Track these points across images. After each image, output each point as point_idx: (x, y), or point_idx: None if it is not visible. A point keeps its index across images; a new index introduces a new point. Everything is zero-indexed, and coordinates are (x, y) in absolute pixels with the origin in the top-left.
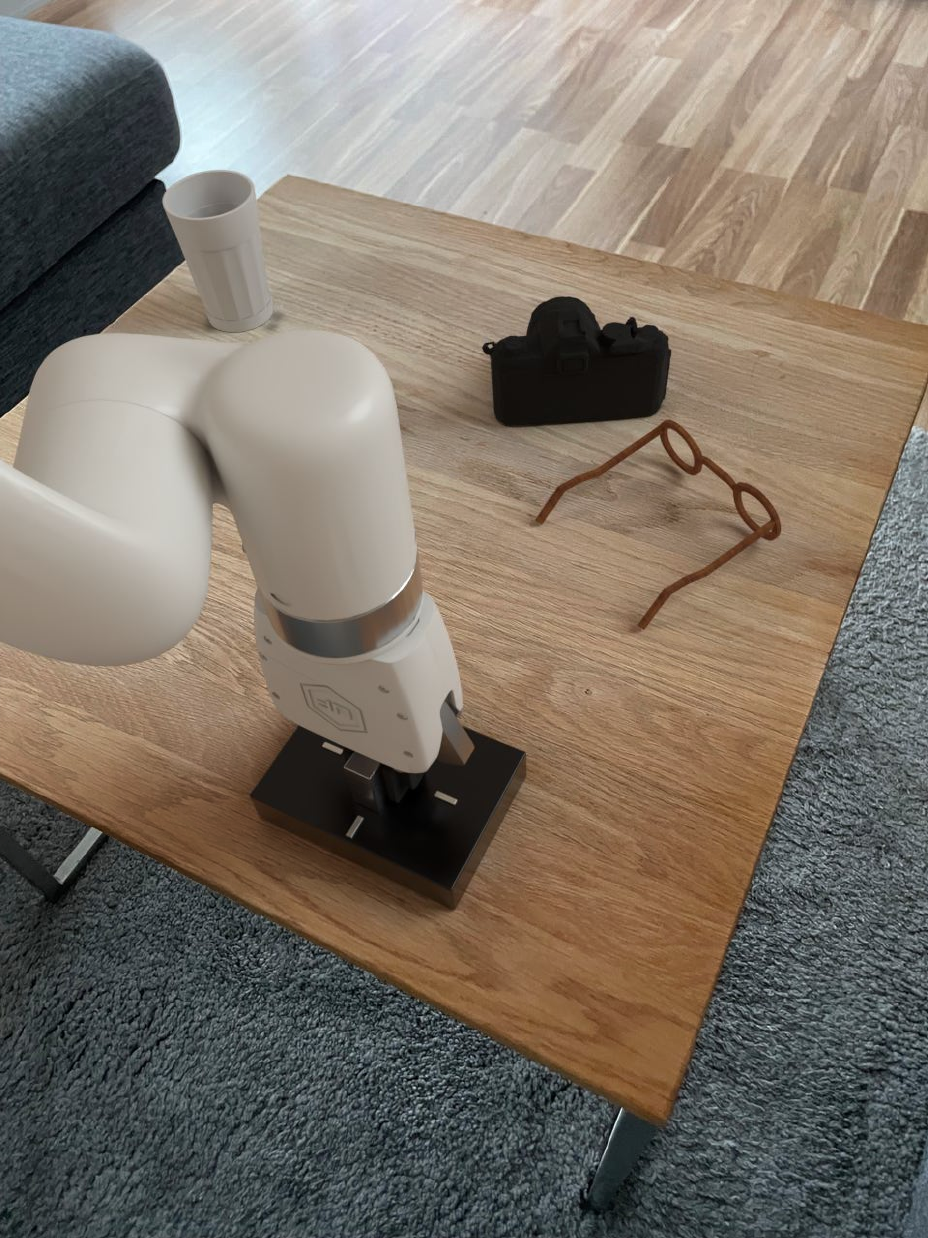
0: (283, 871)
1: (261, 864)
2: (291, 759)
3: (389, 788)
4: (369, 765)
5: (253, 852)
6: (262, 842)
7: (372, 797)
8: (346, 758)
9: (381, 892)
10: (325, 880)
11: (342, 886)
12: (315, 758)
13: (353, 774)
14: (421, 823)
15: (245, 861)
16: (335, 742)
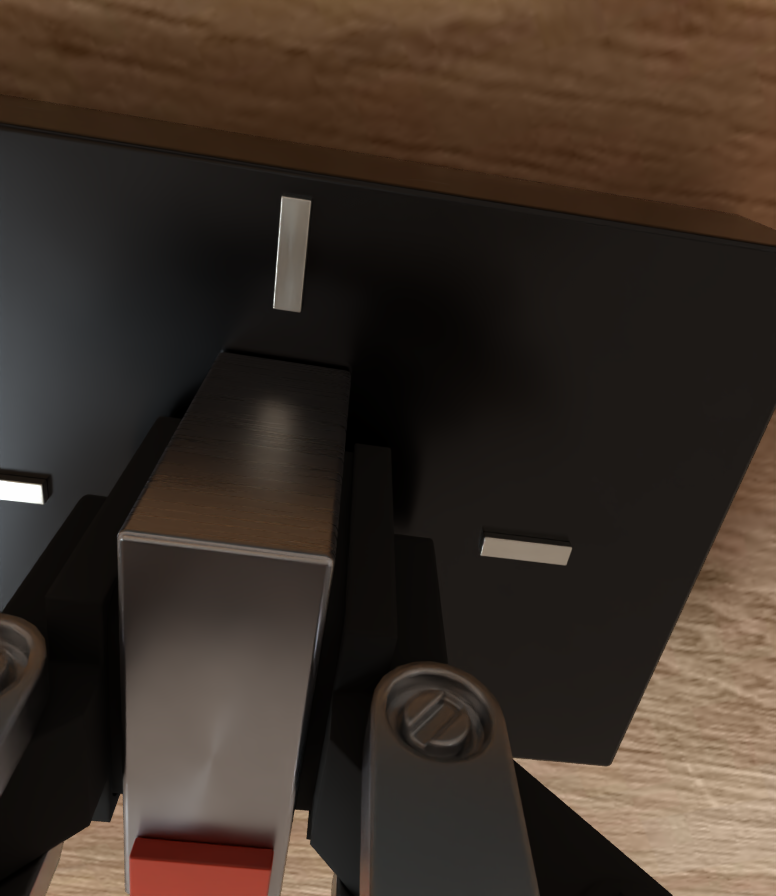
0: (583, 14)
1: (685, 15)
2: (683, 466)
3: (147, 478)
4: (171, 613)
5: (732, 60)
6: (704, 117)
7: (197, 413)
8: (381, 585)
9: (159, 55)
10: (397, 32)
11: (320, 28)
12: (583, 496)
13: (262, 528)
14: (25, 360)
15: (758, 6)
16: (457, 675)
